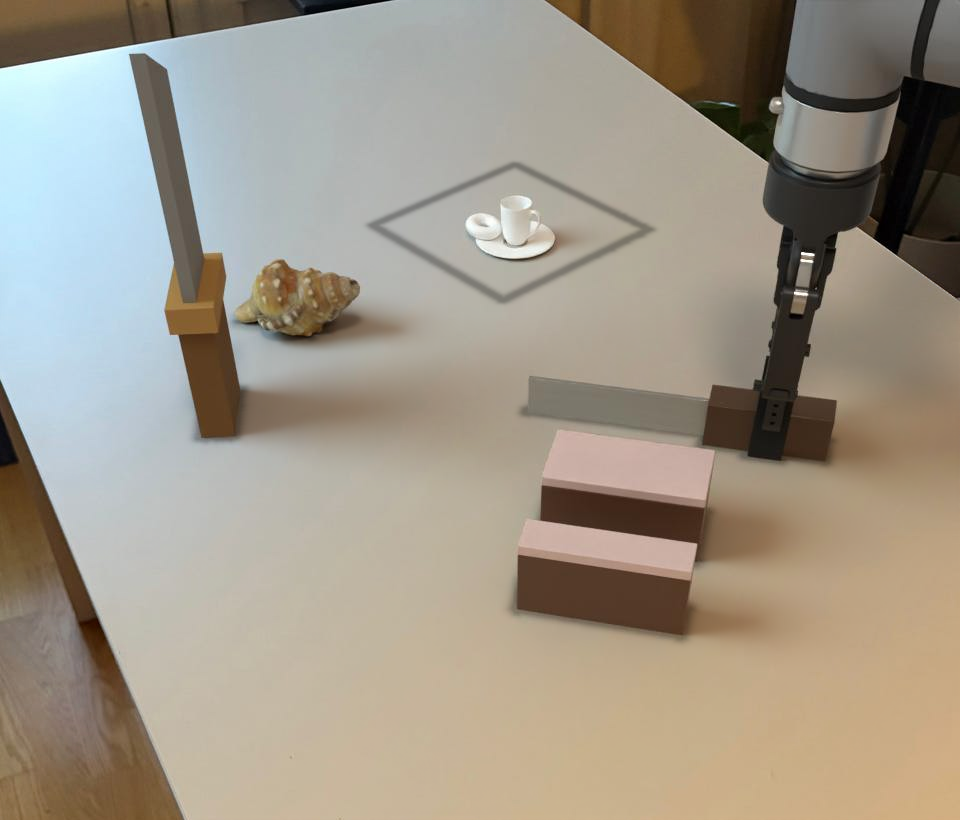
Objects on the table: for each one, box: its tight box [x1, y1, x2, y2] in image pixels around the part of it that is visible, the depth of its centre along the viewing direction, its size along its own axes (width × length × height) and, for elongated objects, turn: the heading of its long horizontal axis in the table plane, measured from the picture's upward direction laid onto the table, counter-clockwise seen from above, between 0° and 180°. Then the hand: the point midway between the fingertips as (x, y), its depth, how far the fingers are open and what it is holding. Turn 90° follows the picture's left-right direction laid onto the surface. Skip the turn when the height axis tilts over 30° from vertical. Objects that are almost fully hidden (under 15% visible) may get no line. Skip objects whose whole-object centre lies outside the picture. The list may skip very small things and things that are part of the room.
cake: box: [539, 429, 717, 563], centre depth 92 cm, size 12×6×6 cm, turn 76°
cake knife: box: [527, 375, 838, 462], centre depth 100 cm, size 25×3×4 cm, turn 76°
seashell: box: [234, 258, 361, 337], centre depth 111 cm, size 9×8×10 cm
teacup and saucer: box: [465, 195, 556, 260], centre depth 121 cm, size 9×8×4 cm
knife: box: [128, 52, 241, 439], centre depth 93 cm, size 8×4×30 cm, turn 3°
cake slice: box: [516, 518, 697, 636], centre depth 86 cm, size 12×3×6 cm, turn 76°
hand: (766, 441), depth 100 cm, fingers closed on cake knife, 3 cm apart
